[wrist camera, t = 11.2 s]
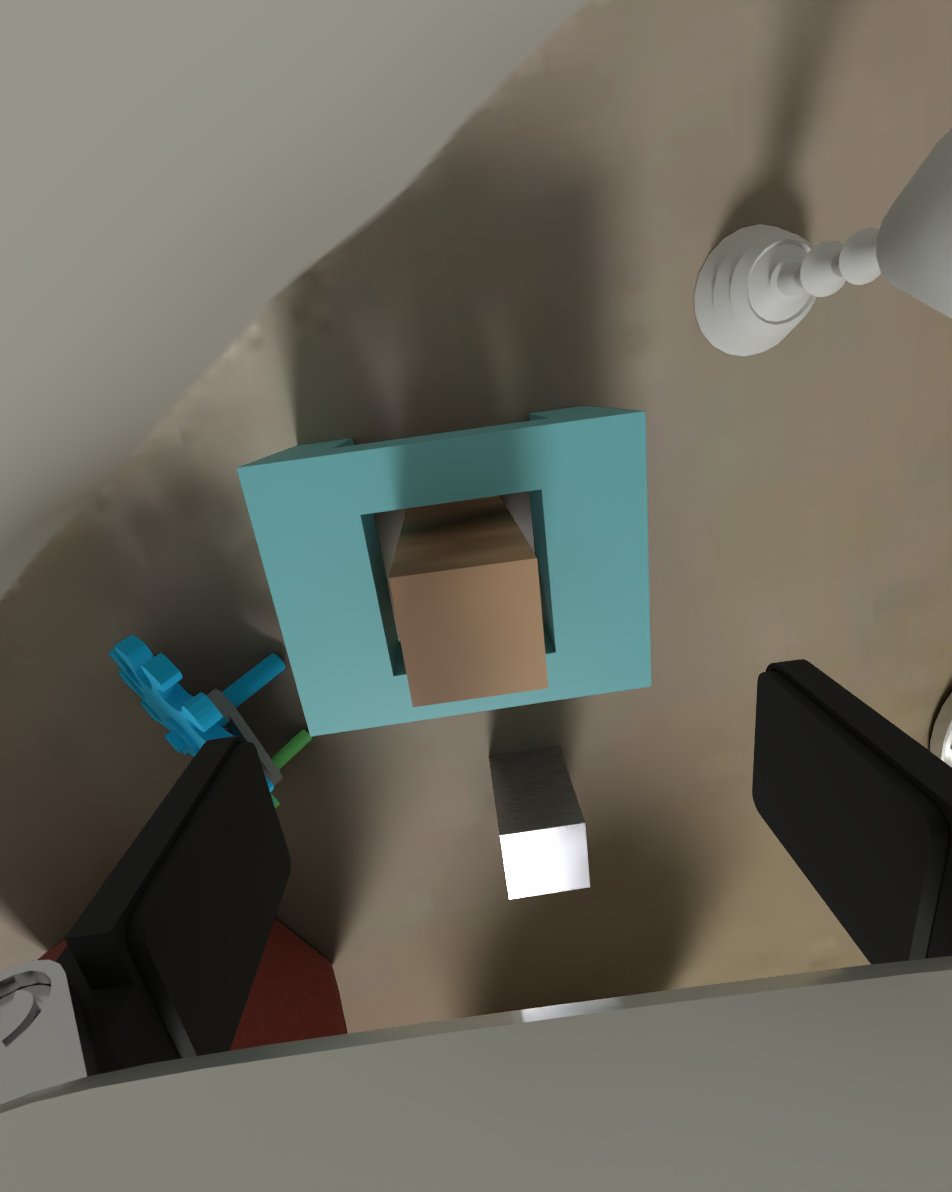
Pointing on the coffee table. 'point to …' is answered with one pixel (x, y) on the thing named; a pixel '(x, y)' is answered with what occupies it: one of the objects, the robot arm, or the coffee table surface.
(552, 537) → the bridge block
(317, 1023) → the plant pot
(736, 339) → the chalice
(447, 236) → the coffee table surface
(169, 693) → the gear
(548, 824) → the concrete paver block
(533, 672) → the walnut pin
